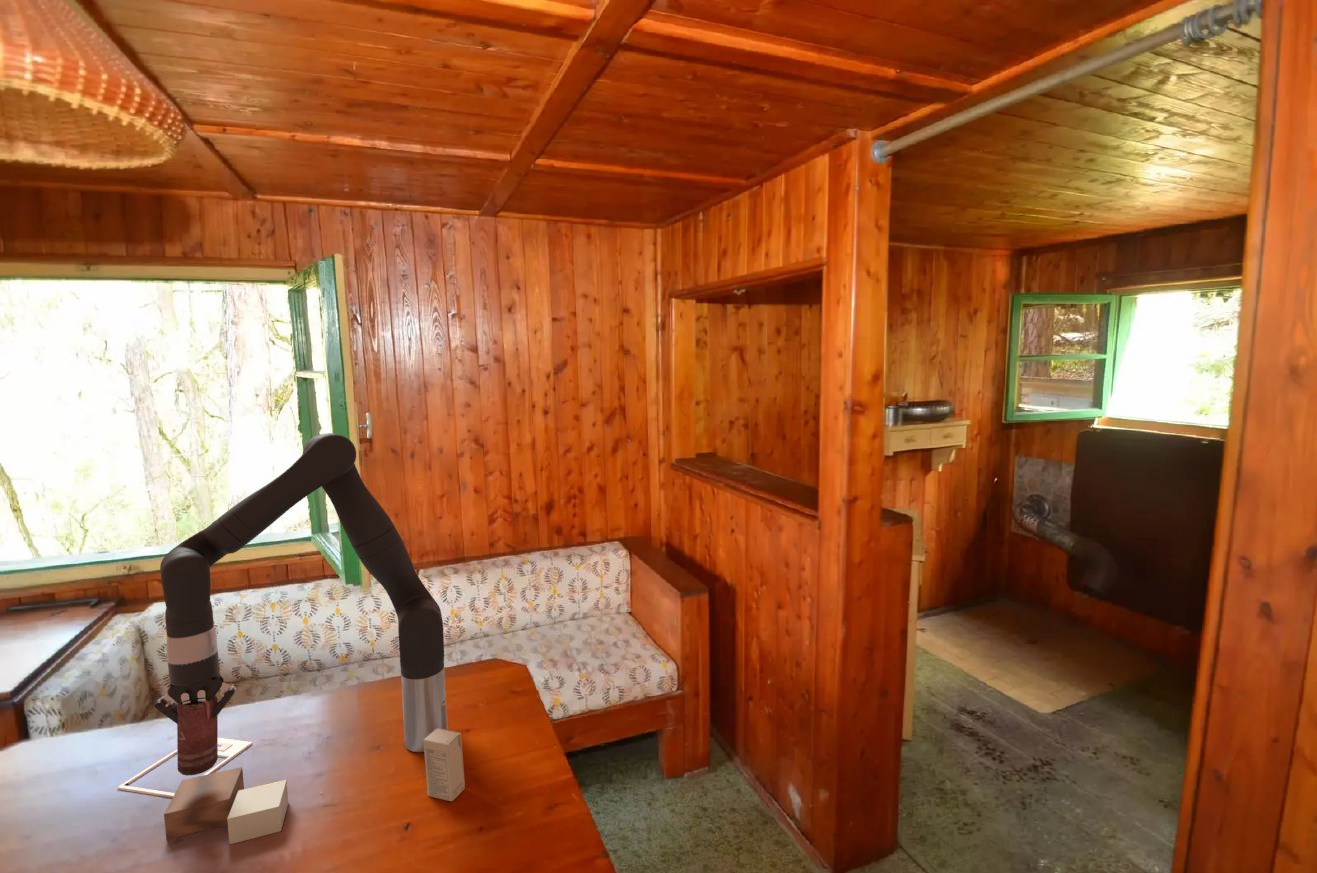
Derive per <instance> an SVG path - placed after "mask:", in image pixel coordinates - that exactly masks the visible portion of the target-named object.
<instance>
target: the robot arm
mask: <svg viewBox="0 0 1317 873" xmlns="http://www.w3.org/2000/svg"><path fill="white" fill-rule="evenodd" d="M356 460H357V449H356V447H355V445H354V443H353V442H352V440H350V439H349V438H348V437H346V436H344V435H342V434H339V433H333V432H331V433H321V434H317V435H315V436H313V437H311V439H309V440H308V441H307V443H306V444H305V445H304V447H303V451H302V455H301V456H300V457H299V458H298V459H296V460H295V462H294V463H293V464H292V465H291V466H290V467H288V468H287V469H286V470H285V471H284V472H283V473H281V474H280V475H279V476H277V477H276V478H275V479H273V480H272V481H270V482H269V483H267V484H265V486H263V487H261V488H259V489H258V490H256V491H254V492H252V494H250V495H249V496H247V497H245V498H243V499H242V500H241V501H240V502H238V503H237V504H235V505H234V506H232V507H231V508H230V509H228V510H227V511H226V512H224V513H223V514H222V515H221V516H219V517H218V518H217V519H215V520H214V521H213V522H211V524H209V525H208V526H207V527H205V528H204V529H202V530H200V531H198V532H196V533H195V534H194V535H191V536H190V537H188V538H187V539H185V540H183V541H181V543H179V544H178V545H176V546H174V547H173V548H172V549H171V550H170V551H169V552H167V554H165V556H164V557H163V558H162V560H161V562H160V566H159V569H160V570H159V571H160V579H161V580H160V581H161V585H162V592H163V597H164V603H165V615H164V616H165V618H164V619H165V620H164V621H165V629H166V631H165V632H166V647H165V649H166V654H165V655H166V656H165V658H166V660H167V668H168V670H167V671H168V678H169V680H168V681H169V687H168V689H167V692H166V694H165V695H162V696H161V697H159V698H158V699H157V701H156V702H155V704H154V705H153V706H154V708H155V709H156V711H158V712H160V713H161V714H162V715H164V716H166V718H168V719H169V720H171V721H172V722H174V723H176V725H177V724H178V723H179V721H178V714H177V705H178V704H180V703H181V704H183V705H192V704H200V703H203V702H204V701H206V700H212V699H213V698H214V696H215V695H216V696H217V694H218V693H219V691H220V693H219V696H220V697H221V698H220V699H219V700H218V701H217V706H216V707H215V708H214V710H213V711H212V718H215V717H217V715H220V713H221V712H222V710H223V709H224V708H225V706H226V705H227V703H228V702H229V701H230V700H231V698H232V697H233V695H234V694H235V692H236V690H237V688H238V685H237V684H236V683H233V684H231V685H230V684H228V683H226V682H225V680H224V678H223V677H222V675H221V672H220V671H221V670H220V661H219V660H220V659H219V658H220V657H219V649H218V638H217V633H216V629H215V625H214V624H215V621H214V612H213V605H212V601H211V588H212V587H211V569H210V567H212V566H213V565H215V563H217V562H218V561H220V560H221V559H223V558H224V557H225V556H227V555H230V554H234V553H236V552H238V551H240V550H241V549H243V548H244V547H245V546H246V545H248V544H249V543H250V542H251V541H253V540H254V539H255V538H257V537H259V535H260V534H261V533H262V532H264V531H265V530H266V529H267V528H269V527H270V526H271V525H272V524H274V522H276V521H277V520H279V518H281V517H282V516H283V515H284V514H285V513H286V512H288V511H289V510H290V509H291V508H292V507H294V506H295V505H297V504H298V503H299V502H301V501H302V500H303V499H304V498H306V497H307V496H309V495H310V494H312V493H314V492H315V491H317V490H318V489H320V488H322V489H323V491H324V492H325V494H326V495H327V497H328V498H329V500H330V502H331V503H332V505H333V508H334V510H335V513H336V515H337V517H338V519H339V522H340V524H341V526H342V528H343V531H344V533H345V534H346V536H347V538H348V540H349V542H350V546H352V548H353V550H354V552H355V554H356V556H357V557H358V559H359V560H360V562H361V564H362V565H363V566H364V568H365V569H366V570H367V571H368V572H369V573H370V575H371V576H372V577H373V578H374V579H375V580H376V581H377V582H378V583H379V584H380V585H381V587H382V588H383V589H384V590H385V592H386V594H387V596H388V597H389V599H390V601H391V604H392V606H393V608H394V609H393V610H394V611H395V613H396V618H397V621H398V622H397V624H398V625H397V630H398V646H399V647H398V648H399V665H400V677H401V680H400V681H401V698H402V700H401V701H402V715H403V719H402V720H403V734H404V736H403V738H404V747H405V748H406V750H408V751H411V752H414V753H415V752H416V753H423V752H424V742H423V739H424V738H426V737H427V736H428V735H429V734H431V733H432V732H433V731H434V730H436V729H437V728H439V729H445V730H449V728H448V726H449V725H448V711H447V710H448V708H447V704H448V703H447V699H446V698H447V697H446V679H445V678H446V677H445V676H446V675H445V641H444V639H445V636H444V633H445V632H444V621H443V616H442V611H441V607H440V605H439V604H438V602H437V601H436V599H435V598H434V596H432V594H431V592H429V590H428V588H427V587H426V586H425V585H424V583H423V581H422V580H421V579H420V577H419V575H418V573H417V572H416V570H415V567H414V564H413V561H412V560H411V559H412V558H411V556H410V554H409V552H408V550H407V548H406V546H405V545H406V544H404V541H403V539H402V537H401V535H400V533H399V532H398V530H397V528H396V526H395V524H394V522H393V520H392V519H391V518H390V516H389V515H388V513H387V512H386V511H385V509H384V508H383V506H382V505H381V504H380V503H379V502H378V500H377V499H376V498H375V497H374V495H373V494H372V492H370V491H369V489H368V488H367V486H366V485H365V483H364V481H363V479H362V477H361V475H360V473H359V471H358V469H357V465H356V464H355V462H356ZM202 701H203V702H202Z"/></svg>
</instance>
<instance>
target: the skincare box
mask: <svg viewBox="0 0 1317 873" xmlns="http://www.w3.org/2000/svg"><path fill="white" fill-rule="evenodd" d="M423 742H424V765H425V777H426V791H427V796H428V797H430V798H431V797H432V798H436V799H439V800H444V801H449V802H453V801H454V800H455V799H456V798H457V797H458V796H459V795H460V794H462V792H463V791H464V790H465V788H466V787H465V786H466V784H465V772H464V771H465V769H464V768H465V767H464V756H463V755H464V754H463V740H462V733H461V732H459V731H454V730H450V729H448V730H445V729H439V728H437V729H436V730H434V731H433V732H432V733H431V734H429V735H428V736H427V737H426V738H424V739H423Z"/></svg>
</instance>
